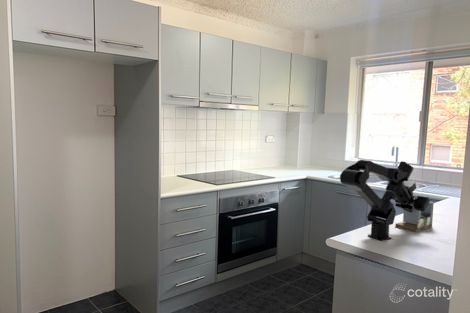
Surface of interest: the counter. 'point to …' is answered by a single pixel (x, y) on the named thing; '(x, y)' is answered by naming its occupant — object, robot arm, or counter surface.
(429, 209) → the brushed steel plate
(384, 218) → the robot arm
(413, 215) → the pale blue shelf board
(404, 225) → the gauge frame
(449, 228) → the counter surface
